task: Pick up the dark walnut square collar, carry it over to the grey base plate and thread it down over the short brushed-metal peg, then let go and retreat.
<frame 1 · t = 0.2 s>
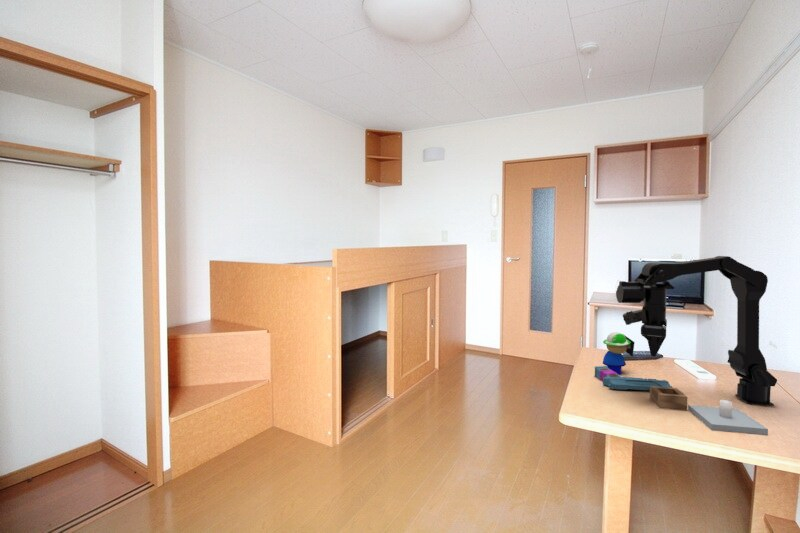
hand: (653, 352, 118), 14 cm above the table, tool pointing down, fingers open, 9 cm apart
toy gun: (631, 386, 129), on the table
collar: (667, 404, 113), on the table
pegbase: (725, 421, 102), on the table
toy: (615, 372, 141), on the table
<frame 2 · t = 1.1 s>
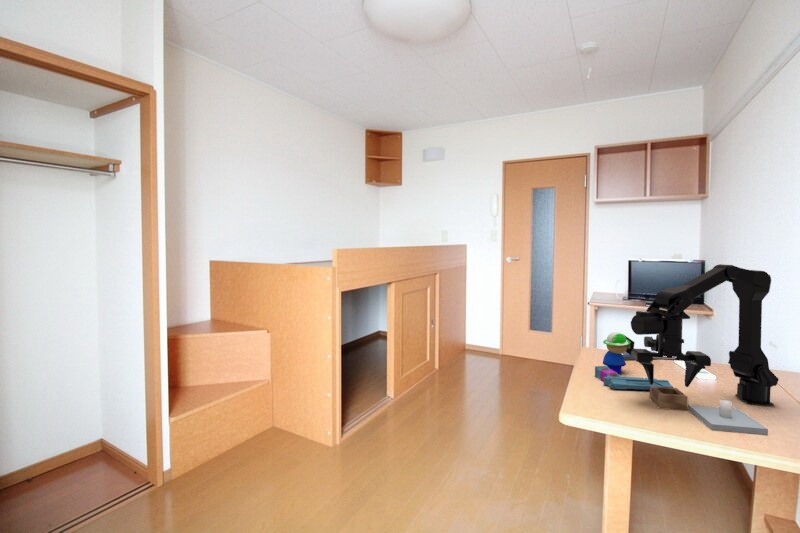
hand: (668, 385, 112), 6 cm above the table, tool pointing down, fingers open, 9 cm apart
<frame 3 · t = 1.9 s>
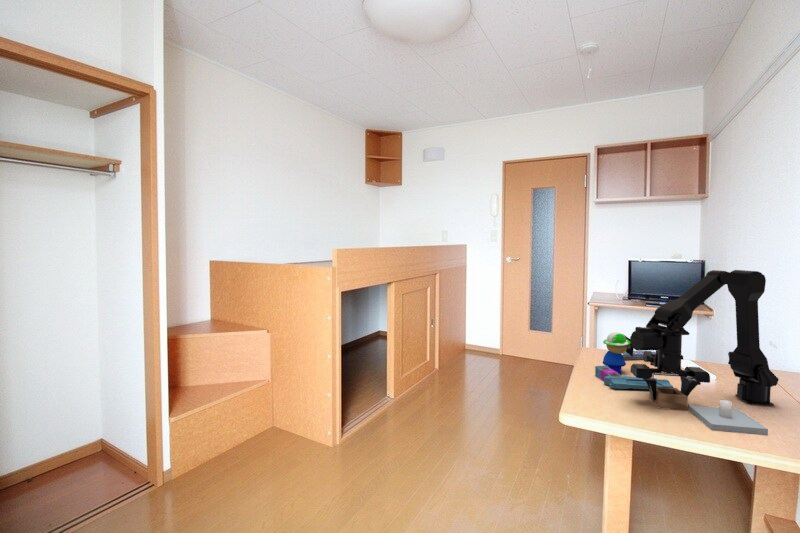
hand: (667, 400, 113), 1 cm above the table, tool pointing down, fingers closed on collar, 7 cm apart
collar: (667, 404, 113), on the table, touching gripper
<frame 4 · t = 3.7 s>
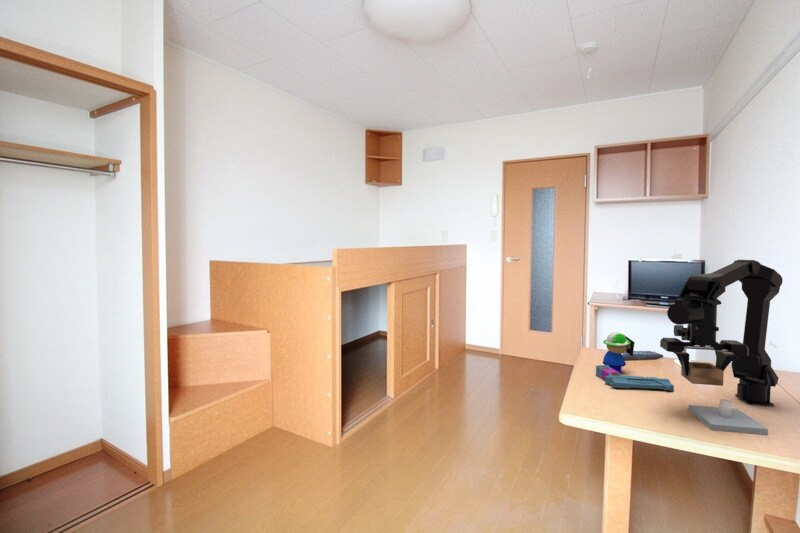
hand: (701, 376, 106), 11 cm above the table, tool pointing down, fingers closed on collar, 7 cm apart
collar: (701, 380, 106), point 10 cm above the table, touching gripper
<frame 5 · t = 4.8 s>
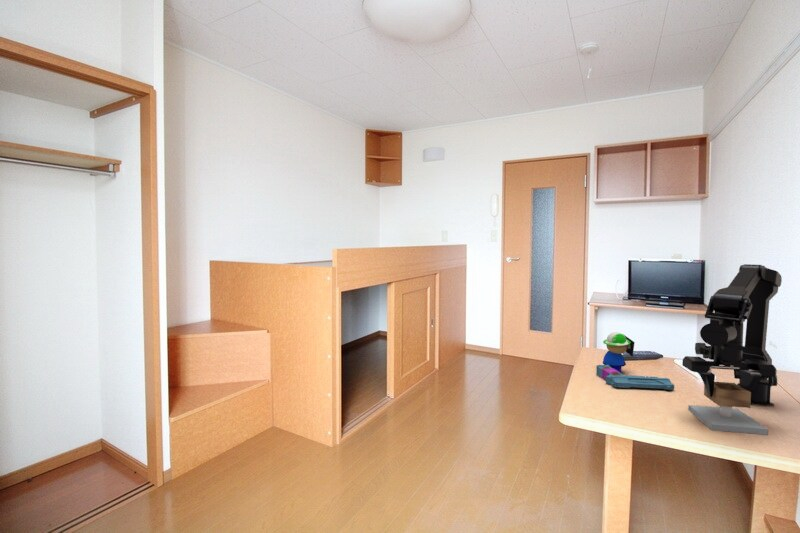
hand: (726, 397, 101), 7 cm above the table, tool pointing down, fingers closed on collar, 7 cm apart
collar: (726, 401, 101), point 6 cm above the table, touching gripper
when the fingers open (4 cm above the table, at t = 5.7 s): collar drops 2 cm, resting on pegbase.
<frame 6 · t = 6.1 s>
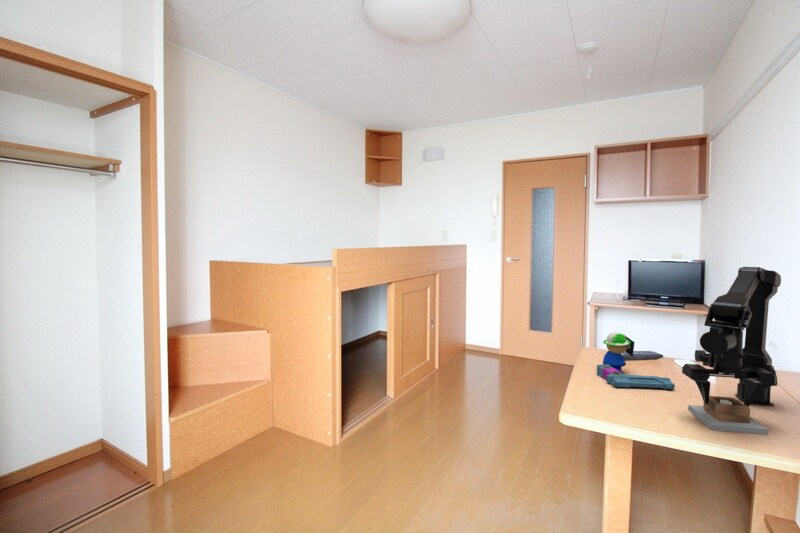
hand: (725, 405, 101), 4 cm above the table, tool pointing down, fingers open, 9 cm apart
collar: (725, 416, 101), point 1 cm above the table, touching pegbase
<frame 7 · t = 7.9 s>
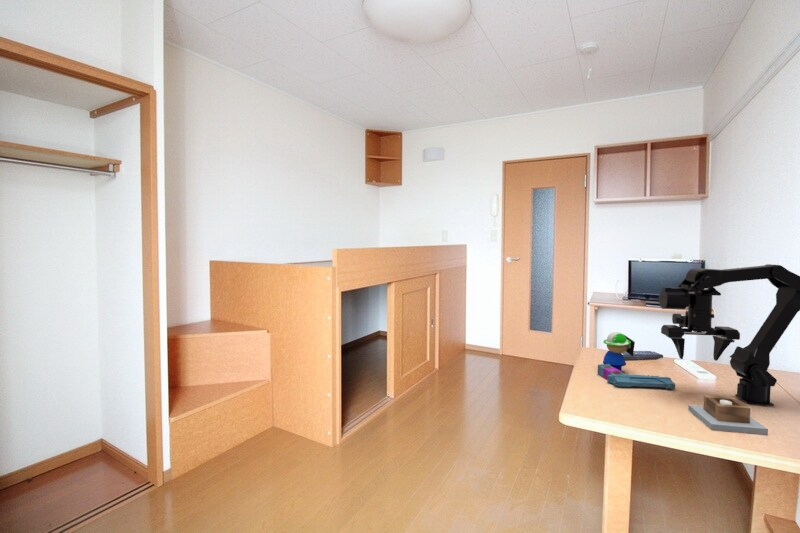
hand: (698, 359, 117), 12 cm above the table, tool pointing down, fingers open, 9 cm apart
toy gun: (634, 383, 131), on the table, touching toy
toy: (616, 372, 141), on the table, touching toy gun
everything else where it was.
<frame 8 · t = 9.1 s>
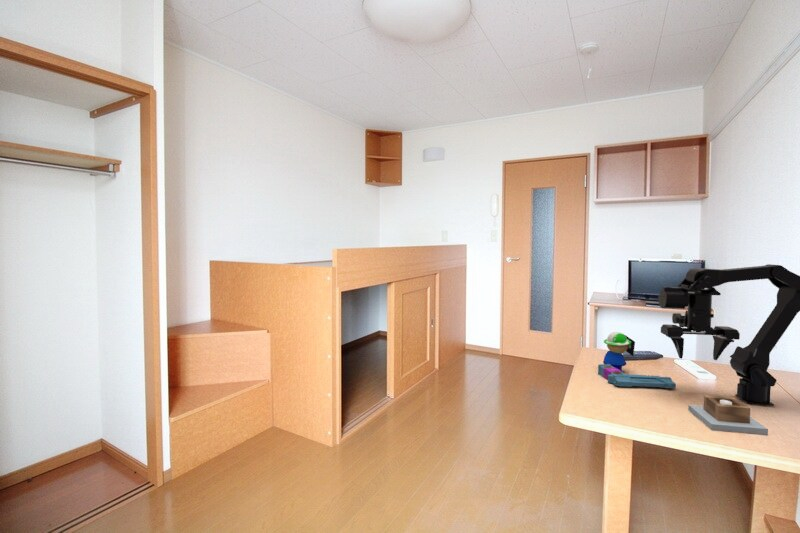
hand: (697, 359, 117), 12 cm above the table, tool pointing down, fingers open, 9 cm apart
toy gun: (634, 383, 131), on the table
toy: (616, 372, 142), on the table
everything else where it was.
at the end: collar 0.0 cm off-centre on the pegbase, point 1.5 cm above the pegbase's base; the gripper is holding nothing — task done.
